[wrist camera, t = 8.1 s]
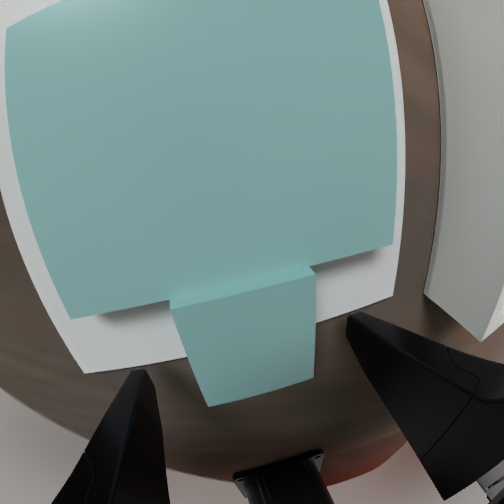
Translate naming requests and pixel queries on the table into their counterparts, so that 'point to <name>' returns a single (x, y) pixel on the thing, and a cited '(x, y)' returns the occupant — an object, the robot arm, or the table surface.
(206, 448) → the table surface
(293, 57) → the lid
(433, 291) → the tub
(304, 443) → the table surface
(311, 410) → the table surface
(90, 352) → the mat
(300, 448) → the table surface
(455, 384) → the robot arm
